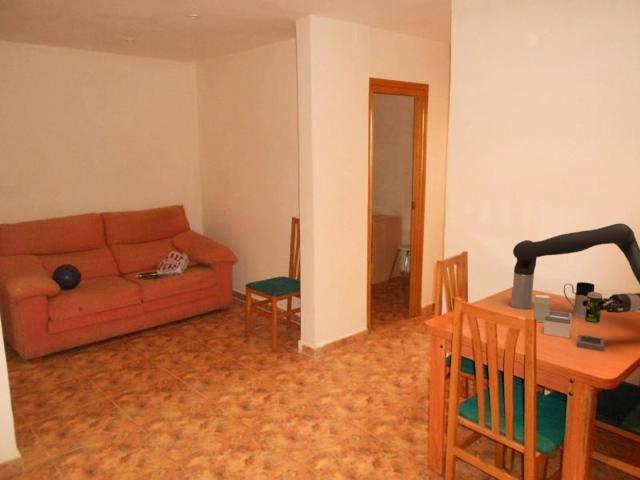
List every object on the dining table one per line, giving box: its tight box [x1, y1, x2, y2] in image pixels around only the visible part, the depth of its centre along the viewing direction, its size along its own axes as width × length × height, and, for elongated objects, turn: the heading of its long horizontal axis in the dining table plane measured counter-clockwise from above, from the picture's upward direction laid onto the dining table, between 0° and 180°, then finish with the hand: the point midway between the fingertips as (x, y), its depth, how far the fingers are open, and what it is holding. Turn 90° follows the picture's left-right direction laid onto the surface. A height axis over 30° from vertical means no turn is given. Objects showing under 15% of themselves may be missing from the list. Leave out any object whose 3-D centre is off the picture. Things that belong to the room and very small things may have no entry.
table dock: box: [576, 334, 605, 352], centre depth 212 cm, size 9×9×2 cm
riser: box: [543, 309, 573, 339], centre depth 225 cm, size 10×10×8 cm
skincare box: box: [533, 294, 551, 324], centre depth 239 cm, size 6×4×12 cm
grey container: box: [563, 281, 595, 319], centre depth 249 cm, size 9×14×15 cm, turn 41°
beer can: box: [584, 291, 603, 325], centre depth 209 cm, size 5×5×12 cm
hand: (588, 305), depth 208 cm, fingers closed on beer can, 5 cm apart
